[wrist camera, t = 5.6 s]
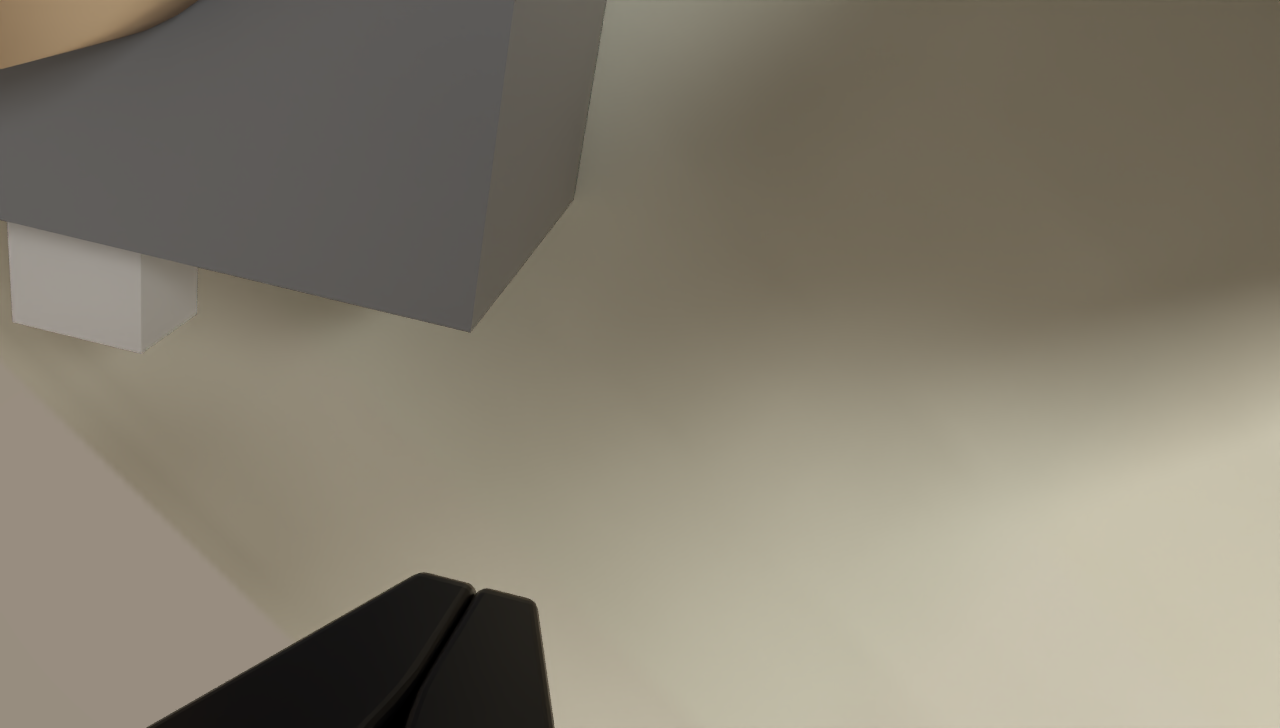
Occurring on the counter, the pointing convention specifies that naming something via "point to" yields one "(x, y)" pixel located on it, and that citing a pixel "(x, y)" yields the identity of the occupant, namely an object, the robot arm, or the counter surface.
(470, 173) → the gray rectangular block
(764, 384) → the counter surface
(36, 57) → the tan rounded lump
